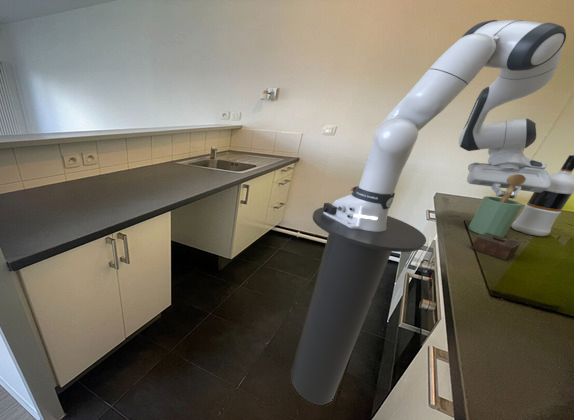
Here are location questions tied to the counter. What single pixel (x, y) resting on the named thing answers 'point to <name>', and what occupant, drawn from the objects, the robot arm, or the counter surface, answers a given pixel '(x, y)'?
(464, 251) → the counter surface
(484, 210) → the cup
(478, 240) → the spoon stand
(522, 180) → the spoon
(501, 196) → the robot arm
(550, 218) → the vodka
